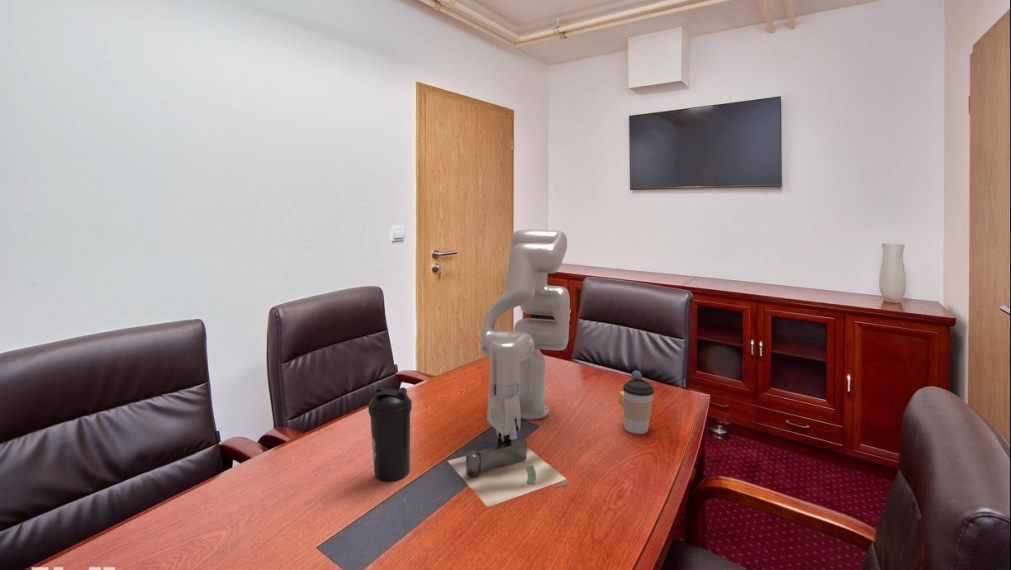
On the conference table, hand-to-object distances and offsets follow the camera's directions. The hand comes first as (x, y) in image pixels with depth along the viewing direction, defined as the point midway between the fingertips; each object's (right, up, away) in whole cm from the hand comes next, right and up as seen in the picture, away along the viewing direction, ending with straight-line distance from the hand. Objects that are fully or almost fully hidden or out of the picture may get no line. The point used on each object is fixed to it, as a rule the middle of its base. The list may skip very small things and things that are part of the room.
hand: (504, 452), depth 124 cm
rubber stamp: (+45, +3, +40) cm, 60 cm away
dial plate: (0, -4, -5) cm, 7 cm away
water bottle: (-28, -4, -7) cm, 29 cm away
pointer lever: (-2, -2, -5) cm, 5 cm away
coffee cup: (+41, 0, +21) cm, 45 cm away
